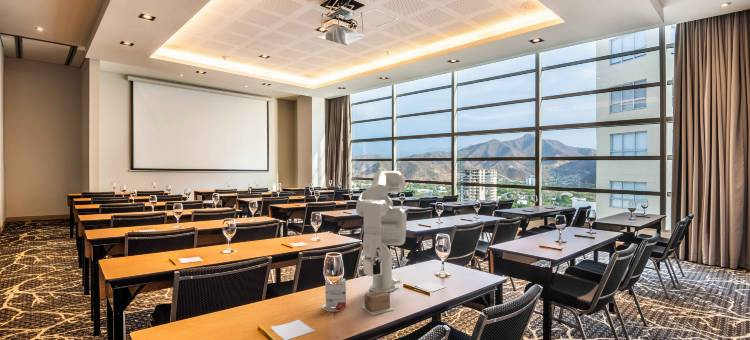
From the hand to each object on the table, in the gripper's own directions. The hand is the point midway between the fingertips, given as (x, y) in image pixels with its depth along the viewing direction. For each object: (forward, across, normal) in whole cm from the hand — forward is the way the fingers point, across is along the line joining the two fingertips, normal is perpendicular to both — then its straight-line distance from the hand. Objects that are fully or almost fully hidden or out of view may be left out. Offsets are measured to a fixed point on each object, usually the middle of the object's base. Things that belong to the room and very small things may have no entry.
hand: (373, 271), depth 171 cm
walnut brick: (+15, +1, +1) cm, 15 cm away
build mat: (+16, +1, +1) cm, 16 cm away
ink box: (+16, -10, -13) cm, 23 cm away
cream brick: (+1, 0, 0) cm, 1 cm away
